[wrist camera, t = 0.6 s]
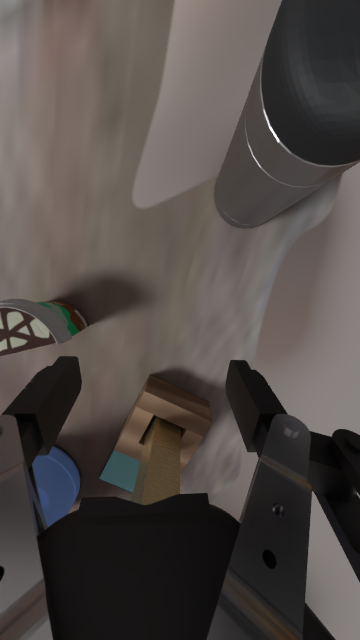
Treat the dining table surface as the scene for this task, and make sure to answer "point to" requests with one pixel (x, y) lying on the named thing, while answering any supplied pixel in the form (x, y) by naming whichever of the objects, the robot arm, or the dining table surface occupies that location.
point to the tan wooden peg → (158, 463)
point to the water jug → (56, 483)
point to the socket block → (170, 407)
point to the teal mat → (121, 471)
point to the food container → (37, 324)
